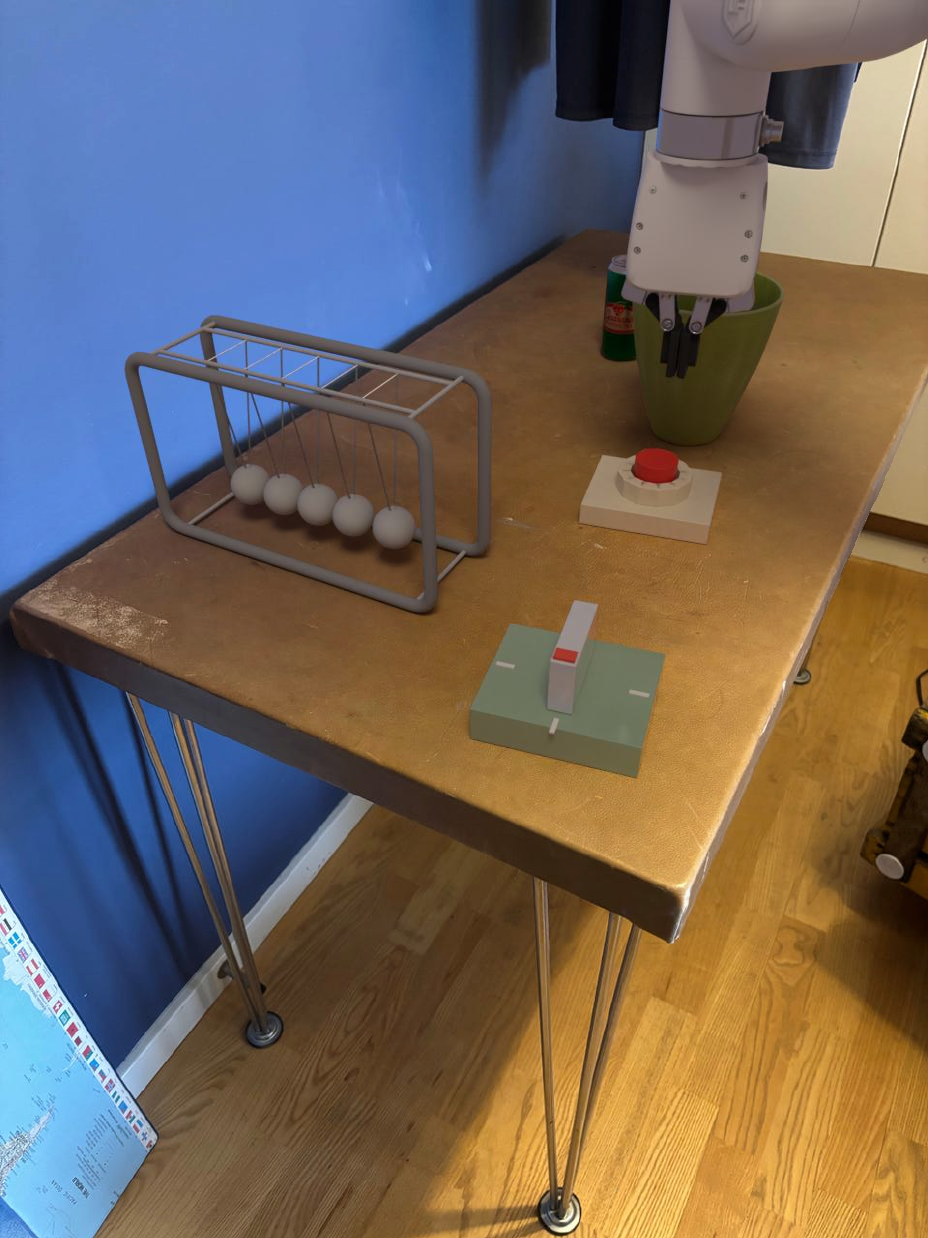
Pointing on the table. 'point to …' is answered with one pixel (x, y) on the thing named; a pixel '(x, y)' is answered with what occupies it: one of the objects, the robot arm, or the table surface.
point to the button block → (651, 501)
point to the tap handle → (572, 657)
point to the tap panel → (603, 714)
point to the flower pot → (704, 366)
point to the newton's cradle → (317, 499)
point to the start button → (656, 466)
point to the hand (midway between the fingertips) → (677, 371)
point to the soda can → (617, 315)
